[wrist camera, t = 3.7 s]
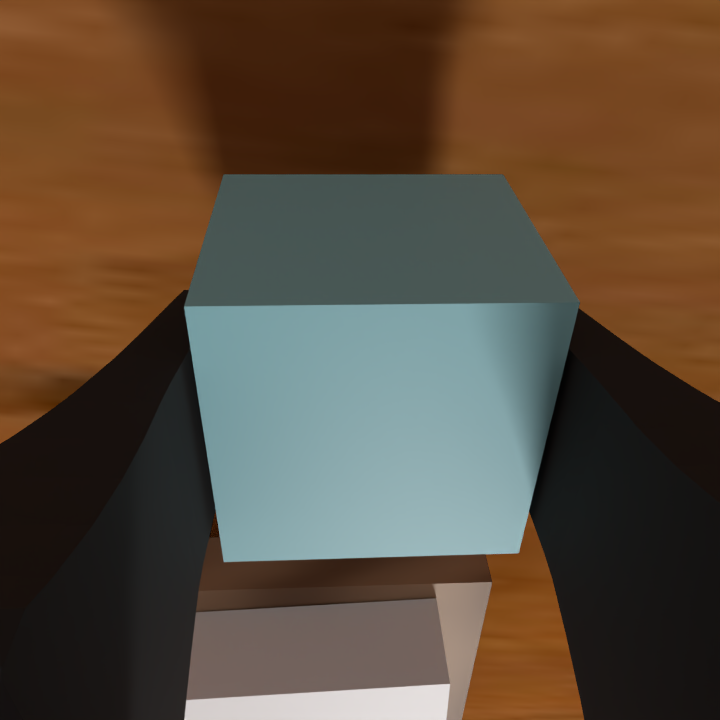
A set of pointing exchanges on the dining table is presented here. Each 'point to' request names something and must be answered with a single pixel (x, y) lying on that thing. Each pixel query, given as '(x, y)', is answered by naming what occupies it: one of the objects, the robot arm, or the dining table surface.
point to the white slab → (320, 663)
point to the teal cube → (374, 363)
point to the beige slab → (363, 594)
